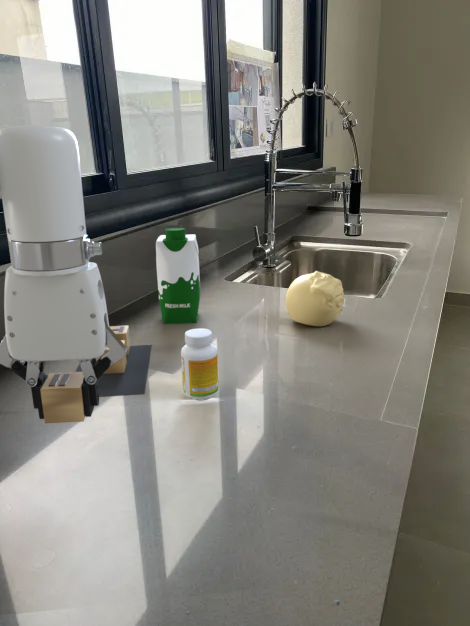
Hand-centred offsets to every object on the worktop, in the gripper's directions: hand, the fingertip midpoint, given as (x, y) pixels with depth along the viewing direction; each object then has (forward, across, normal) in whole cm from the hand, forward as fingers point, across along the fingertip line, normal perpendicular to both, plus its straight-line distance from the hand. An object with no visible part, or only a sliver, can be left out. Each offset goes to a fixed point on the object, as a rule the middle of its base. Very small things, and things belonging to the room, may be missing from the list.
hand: (68, 410), depth 57 cm
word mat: (+7, -1, -26) cm, 27 cm away
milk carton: (+7, -13, -51) cm, 53 cm away
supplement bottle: (+7, -16, -16) cm, 23 cm away
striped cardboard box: (0, 0, 0) cm, 0 cm away
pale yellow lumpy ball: (+7, -41, -45) cm, 61 cm away
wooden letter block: (+7, -1, -26) cm, 27 cm away
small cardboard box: (+7, -1, -33) cm, 34 cm away
